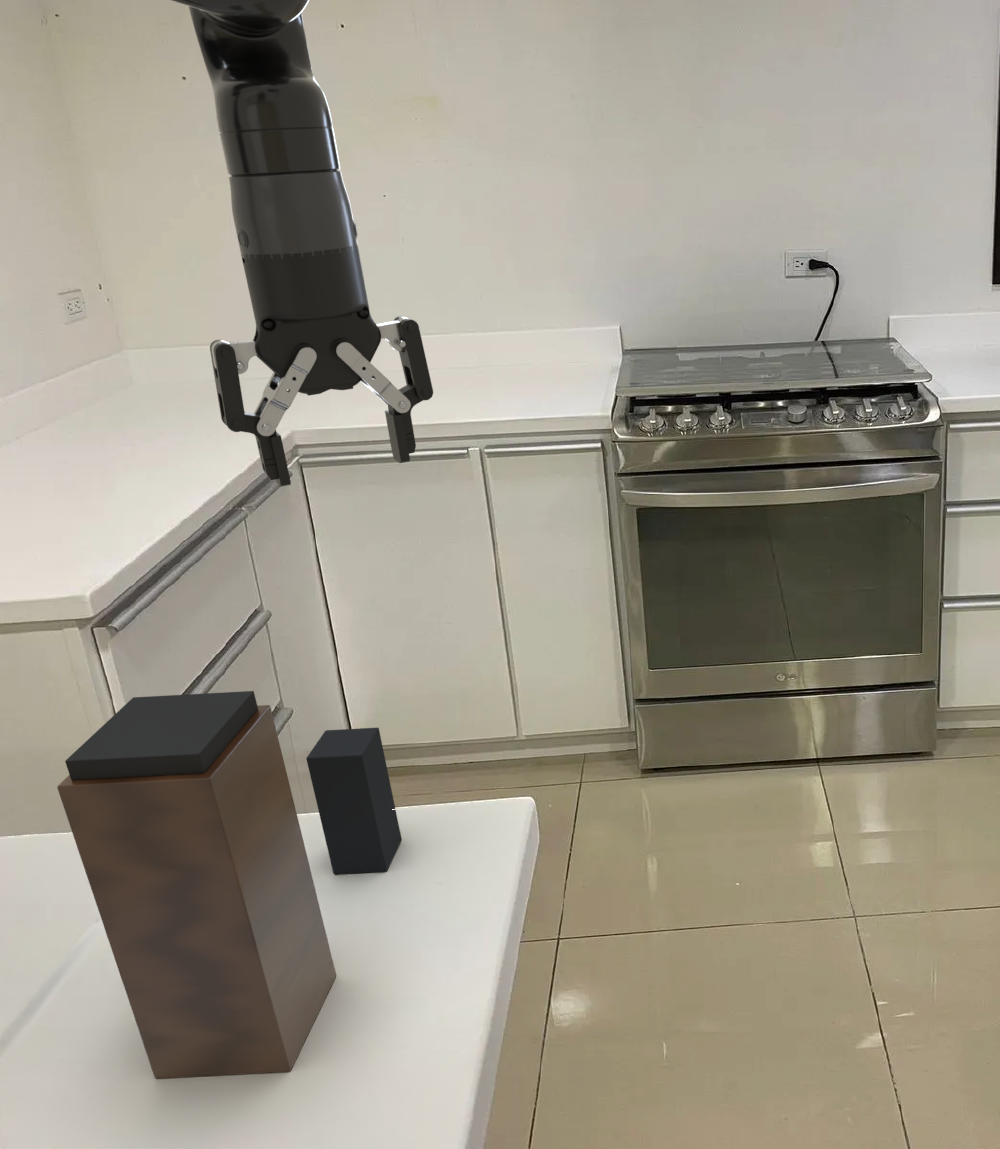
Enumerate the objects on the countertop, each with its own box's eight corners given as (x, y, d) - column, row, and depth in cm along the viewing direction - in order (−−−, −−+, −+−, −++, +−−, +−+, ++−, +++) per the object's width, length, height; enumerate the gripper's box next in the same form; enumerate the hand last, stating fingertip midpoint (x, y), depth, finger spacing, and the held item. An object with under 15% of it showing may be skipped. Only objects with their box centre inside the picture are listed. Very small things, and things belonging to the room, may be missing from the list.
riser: (154, 1078, 65) (55, 786, 58) (214, 982, 73) (134, 711, 65) (290, 1071, 65) (209, 778, 58) (337, 975, 73) (270, 704, 65)
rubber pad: (70, 780, 58) (64, 760, 58) (138, 715, 65) (133, 696, 65) (204, 773, 58) (198, 753, 58) (258, 708, 65) (253, 690, 64)
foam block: (333, 874, 83) (305, 758, 79) (350, 842, 87) (325, 729, 83) (386, 871, 83) (361, 755, 79) (402, 839, 87) (379, 726, 83)
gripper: (388, 231, 83) (423, 444, 89) (177, 250, 76) (231, 480, 82) (419, 236, 77) (454, 464, 83) (193, 257, 70) (250, 504, 76)
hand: (343, 472), depth 82 cm, fingers open, 8 cm apart
